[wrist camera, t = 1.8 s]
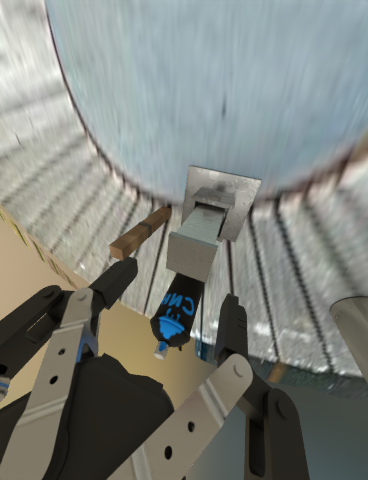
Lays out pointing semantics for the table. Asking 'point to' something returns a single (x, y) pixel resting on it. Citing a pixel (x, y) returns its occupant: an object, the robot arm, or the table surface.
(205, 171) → the stand base
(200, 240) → the grey-green long block
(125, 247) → the banded wooden rod
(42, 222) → the table surface
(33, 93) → the table surface
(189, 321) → the aerosol can
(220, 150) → the table surface
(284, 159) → the table surface
